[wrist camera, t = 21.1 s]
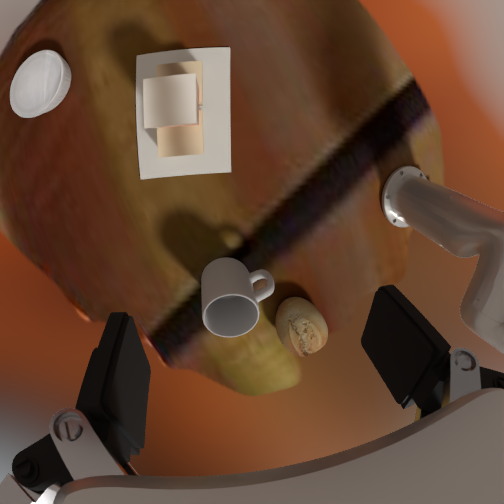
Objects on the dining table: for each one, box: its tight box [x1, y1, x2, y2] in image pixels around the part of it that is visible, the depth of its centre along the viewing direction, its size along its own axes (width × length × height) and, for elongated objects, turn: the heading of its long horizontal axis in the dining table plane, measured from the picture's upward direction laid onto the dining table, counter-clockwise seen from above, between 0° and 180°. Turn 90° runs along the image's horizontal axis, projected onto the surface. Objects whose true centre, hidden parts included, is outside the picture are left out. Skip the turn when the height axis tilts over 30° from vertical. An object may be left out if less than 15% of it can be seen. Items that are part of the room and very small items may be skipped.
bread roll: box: [275, 297, 328, 356], centre depth 52 cm, size 10×15×8 cm, turn 32°
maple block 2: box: [157, 110, 204, 158], centre depth 34 cm, size 6×6×5 cm
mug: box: [201, 257, 274, 337], centre depth 43 cm, size 12×8×11 cm
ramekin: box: [10, 50, 71, 118], centre depth 25 cm, size 11×11×5 cm
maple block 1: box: [156, 61, 203, 106], centre depth 31 cm, size 6×6×5 cm
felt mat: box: [136, 47, 231, 179], centre depth 35 cm, size 14×20×1 cm
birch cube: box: [143, 73, 198, 128], centre depth 24 cm, size 5×5×5 cm
